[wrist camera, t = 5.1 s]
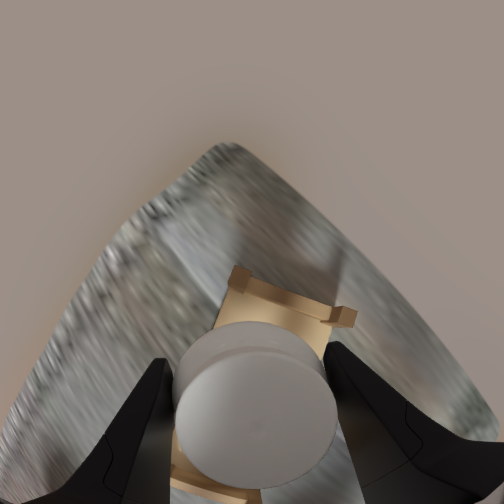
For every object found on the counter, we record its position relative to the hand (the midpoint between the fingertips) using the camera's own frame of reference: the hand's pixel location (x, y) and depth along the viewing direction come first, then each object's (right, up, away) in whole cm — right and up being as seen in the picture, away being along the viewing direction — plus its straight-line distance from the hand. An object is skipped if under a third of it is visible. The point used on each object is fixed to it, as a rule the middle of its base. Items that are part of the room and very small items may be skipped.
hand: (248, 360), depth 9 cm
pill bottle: (0, -3, +6) cm, 7 cm away
